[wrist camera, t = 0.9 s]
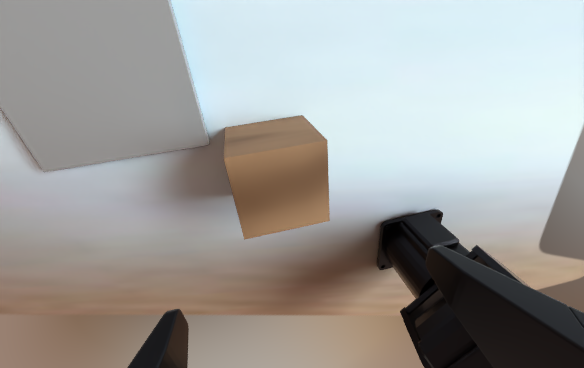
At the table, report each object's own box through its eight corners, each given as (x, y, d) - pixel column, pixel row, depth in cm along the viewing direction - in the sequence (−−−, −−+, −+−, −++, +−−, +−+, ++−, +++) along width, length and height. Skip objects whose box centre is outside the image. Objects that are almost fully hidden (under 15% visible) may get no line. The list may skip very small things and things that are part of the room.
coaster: (209, 141, 18) (208, 145, 17) (51, 166, 16) (44, 172, 16) (156, -50, 13) (152, -55, 12) (-79, -35, 11) (-99, -39, 11)
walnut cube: (307, 180, 21) (329, 220, 16) (241, 193, 20) (244, 239, 16) (302, 115, 18) (327, 140, 14) (225, 127, 18) (223, 158, 13)
